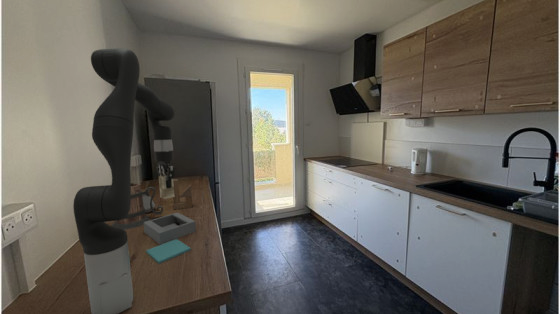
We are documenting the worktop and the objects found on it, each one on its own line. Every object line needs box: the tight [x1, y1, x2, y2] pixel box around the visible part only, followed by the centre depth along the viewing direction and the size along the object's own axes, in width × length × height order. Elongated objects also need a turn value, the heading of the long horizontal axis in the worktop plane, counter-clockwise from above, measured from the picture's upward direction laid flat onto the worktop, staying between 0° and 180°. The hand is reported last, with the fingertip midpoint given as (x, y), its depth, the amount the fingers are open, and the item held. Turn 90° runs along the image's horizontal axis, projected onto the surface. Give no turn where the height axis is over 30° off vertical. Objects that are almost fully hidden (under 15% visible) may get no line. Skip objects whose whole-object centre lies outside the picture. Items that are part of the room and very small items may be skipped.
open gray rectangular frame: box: [143, 212, 197, 245], centre depth 106 cm, size 18×16×5 cm
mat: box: [145, 238, 192, 264], centre depth 89 cm, size 12×12×1 cm
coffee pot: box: [141, 181, 156, 214], centre depth 138 cm, size 21×12×15 cm, turn 20°
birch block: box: [158, 175, 175, 200], centre depth 104 cm, size 4×4×10 cm
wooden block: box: [172, 178, 193, 211], centre depth 138 cm, size 4×11×18 cm, turn 111°
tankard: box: [111, 182, 164, 231], centre depth 118 cm, size 24×17×20 cm
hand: (166, 186), depth 104 cm, fingers closed on birch block, 4 cm apart
